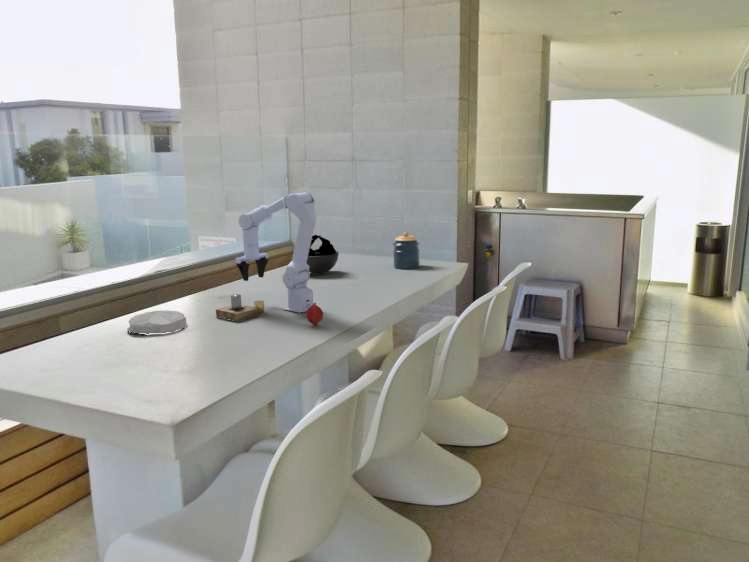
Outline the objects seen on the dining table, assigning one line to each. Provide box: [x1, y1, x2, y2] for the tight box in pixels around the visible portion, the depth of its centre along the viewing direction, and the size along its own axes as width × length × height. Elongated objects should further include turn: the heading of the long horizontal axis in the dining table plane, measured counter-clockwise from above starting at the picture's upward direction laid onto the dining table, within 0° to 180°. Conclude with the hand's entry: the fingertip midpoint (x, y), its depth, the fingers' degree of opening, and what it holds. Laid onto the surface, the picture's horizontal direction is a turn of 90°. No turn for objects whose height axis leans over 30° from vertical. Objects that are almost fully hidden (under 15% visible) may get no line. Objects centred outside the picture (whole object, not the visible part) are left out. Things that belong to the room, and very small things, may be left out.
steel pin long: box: [230, 293, 242, 311], centre depth 241 cm, size 4×4×8 cm
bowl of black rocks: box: [306, 234, 340, 275], centre depth 317 cm, size 20×20×19 cm
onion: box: [305, 302, 324, 326], centre depth 225 cm, size 6×6×8 cm
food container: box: [127, 309, 188, 334], centre depth 229 cm, size 20×20×7 cm
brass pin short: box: [253, 300, 266, 315], centre depth 245 cm, size 4×4×4 cm
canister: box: [392, 231, 420, 270], centre depth 327 cm, size 13×13×18 cm
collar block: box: [215, 304, 260, 322], centre depth 241 cm, size 12×10×3 cm
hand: (253, 278), depth 257 cm, fingers open, 7 cm apart
